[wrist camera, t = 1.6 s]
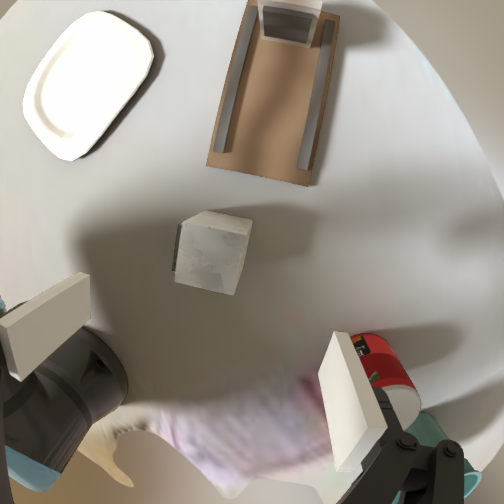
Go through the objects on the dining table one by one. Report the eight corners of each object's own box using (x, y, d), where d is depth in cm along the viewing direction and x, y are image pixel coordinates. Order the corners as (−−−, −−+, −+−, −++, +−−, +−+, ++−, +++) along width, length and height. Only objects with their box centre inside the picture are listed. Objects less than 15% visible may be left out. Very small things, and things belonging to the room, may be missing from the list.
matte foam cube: (253, 220, 30) (246, 235, 22) (243, 266, 31) (233, 295, 23) (199, 209, 30) (175, 220, 22) (192, 255, 31) (167, 280, 23)
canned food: (350, 322, 32) (378, 381, 21) (401, 342, 32) (437, 396, 21) (319, 372, 34) (331, 436, 23) (369, 387, 34) (391, 446, 23)
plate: (95, 5, 24) (89, 0, 22) (176, 57, 26) (171, 51, 24) (20, 106, 28) (13, 105, 26) (80, 178, 30) (72, 178, 29)
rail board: (208, 166, 29) (181, 161, 20) (249, 4, 24) (241, -44, 15) (306, 186, 28) (321, 190, 20) (338, 20, 23) (356, -24, 15)
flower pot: (408, 389, 34) (449, 472, 18) (460, 411, 35) (497, 473, 19) (336, 454, 38) (349, 533, 22) (397, 467, 39) (416, 529, 23)
